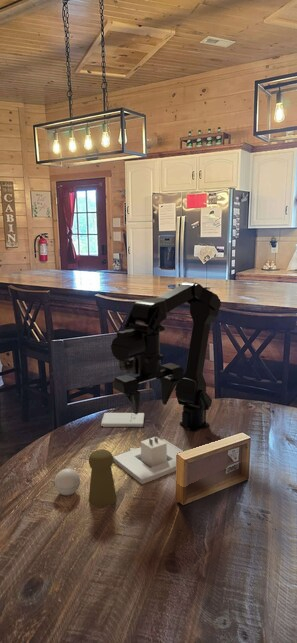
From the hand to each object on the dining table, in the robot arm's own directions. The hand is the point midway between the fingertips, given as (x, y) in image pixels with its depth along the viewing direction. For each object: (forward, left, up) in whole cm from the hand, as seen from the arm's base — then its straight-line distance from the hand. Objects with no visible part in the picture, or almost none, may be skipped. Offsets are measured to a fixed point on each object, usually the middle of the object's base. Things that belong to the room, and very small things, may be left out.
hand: (150, 408), depth 115 cm
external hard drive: (-4, -20, -12) cm, 24 cm away
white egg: (+27, +5, -12) cm, 30 cm away
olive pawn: (+21, +11, -12) cm, 27 cm away
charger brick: (+3, +5, -11) cm, 13 cm away
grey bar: (+9, -2, -12) cm, 15 cm away
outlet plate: (+3, +5, -12) cm, 13 cm away
